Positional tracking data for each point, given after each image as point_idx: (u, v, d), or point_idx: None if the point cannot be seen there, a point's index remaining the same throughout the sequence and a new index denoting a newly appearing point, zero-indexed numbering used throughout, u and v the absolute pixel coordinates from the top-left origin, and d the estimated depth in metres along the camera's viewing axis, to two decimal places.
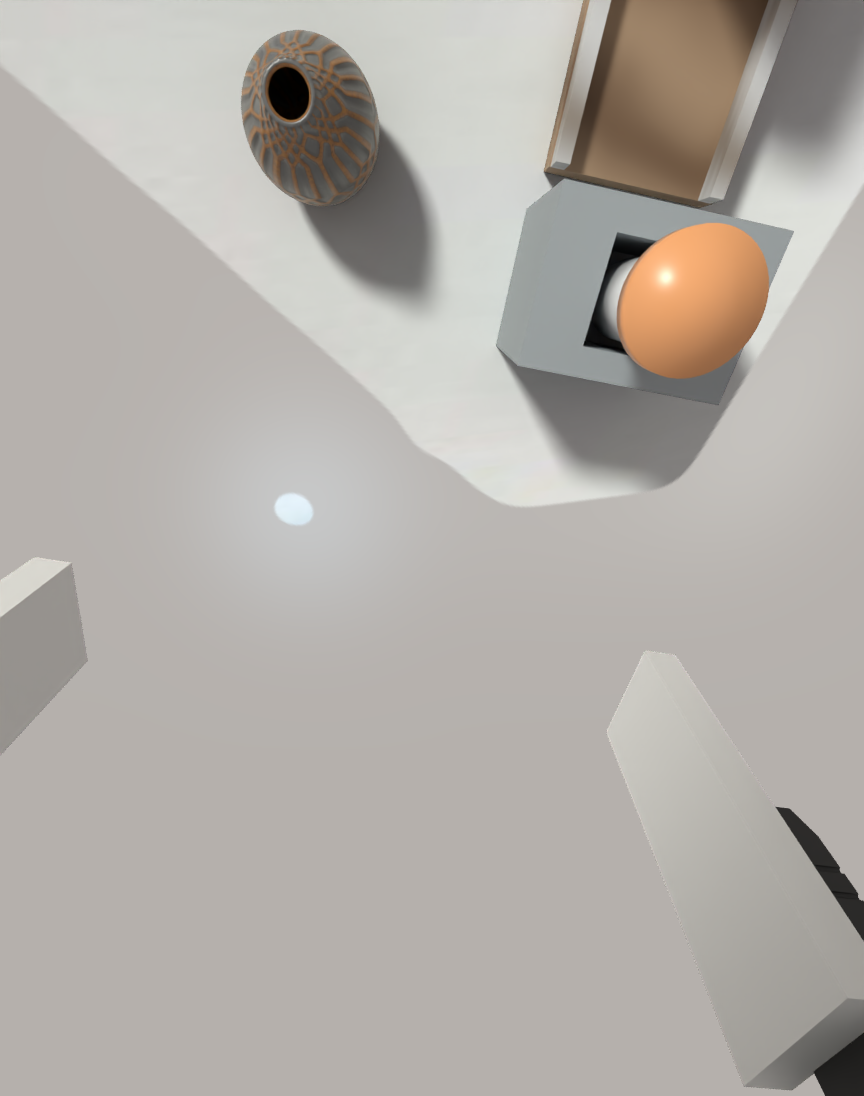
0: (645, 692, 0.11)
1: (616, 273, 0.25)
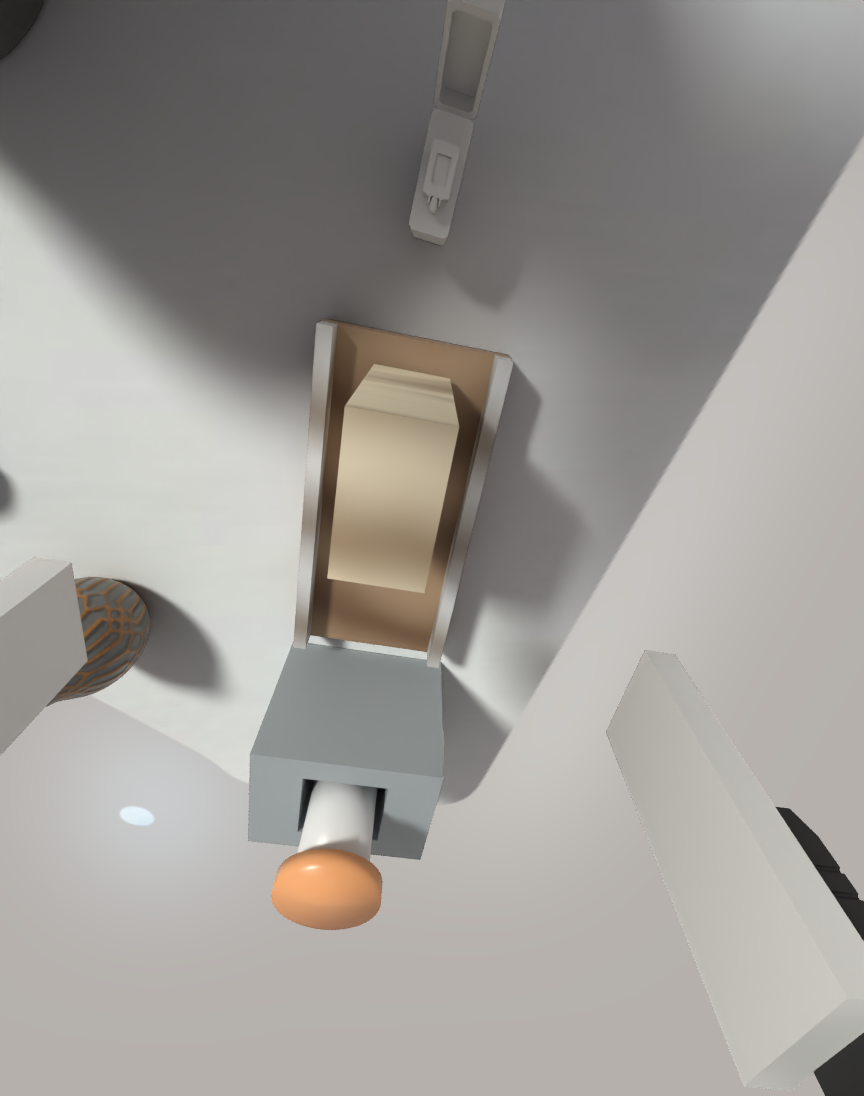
0: (645, 692, 0.11)
1: (315, 788, 0.30)
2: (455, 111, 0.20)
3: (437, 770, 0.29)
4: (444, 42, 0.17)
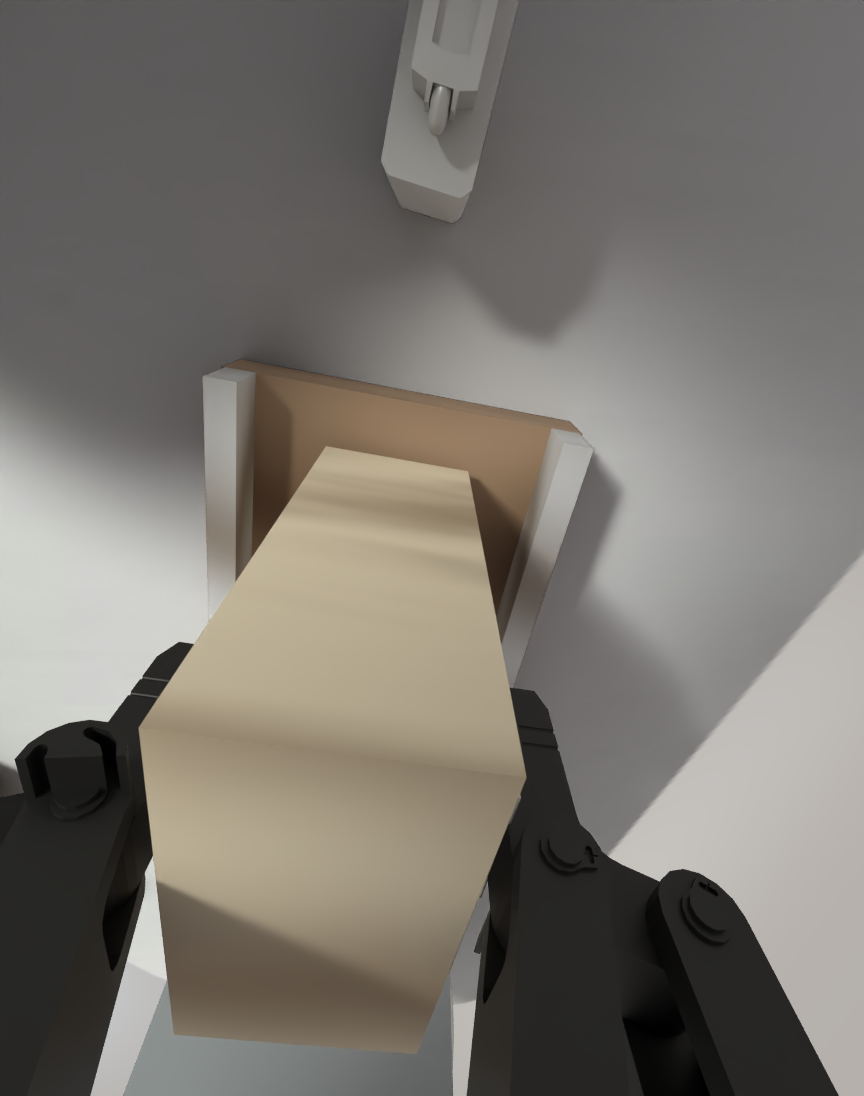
0: None
1: None
2: None
3: None
4: None
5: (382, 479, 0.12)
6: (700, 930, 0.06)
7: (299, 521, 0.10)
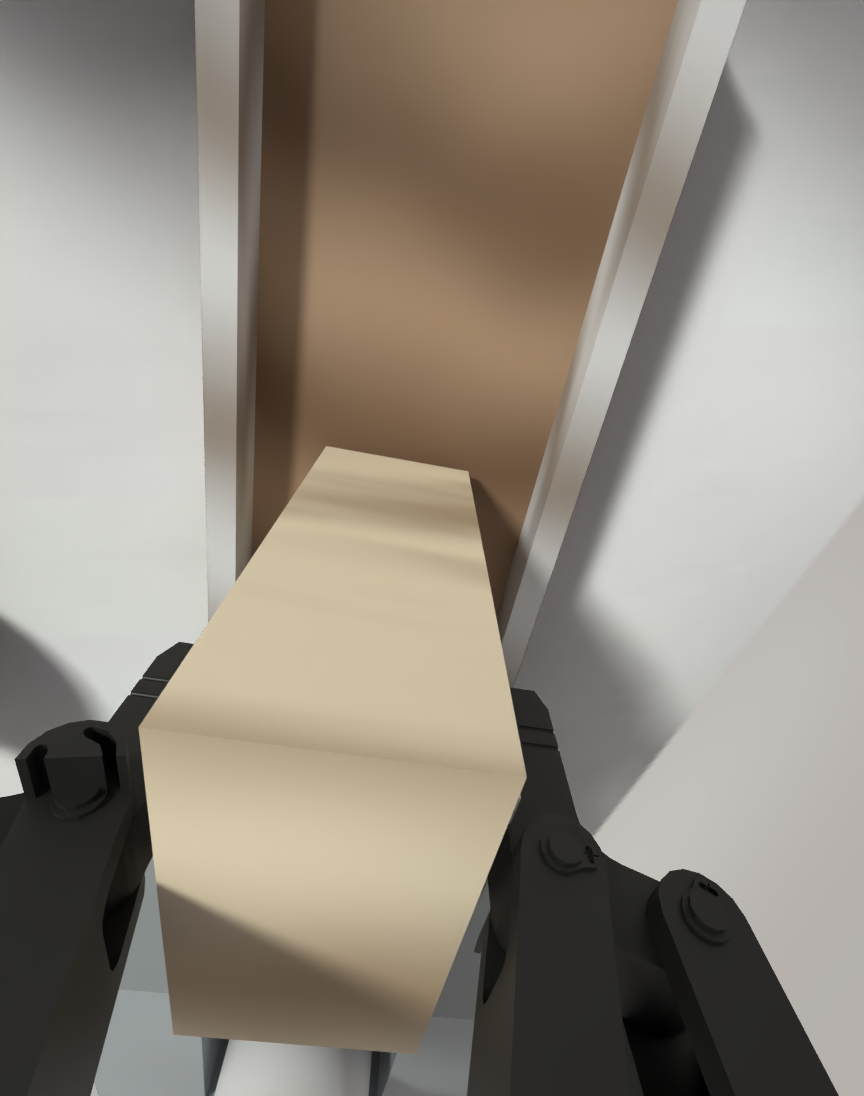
0: None
1: None
2: None
3: None
4: None
5: (382, 479, 0.12)
6: (700, 928, 0.06)
7: (299, 521, 0.10)
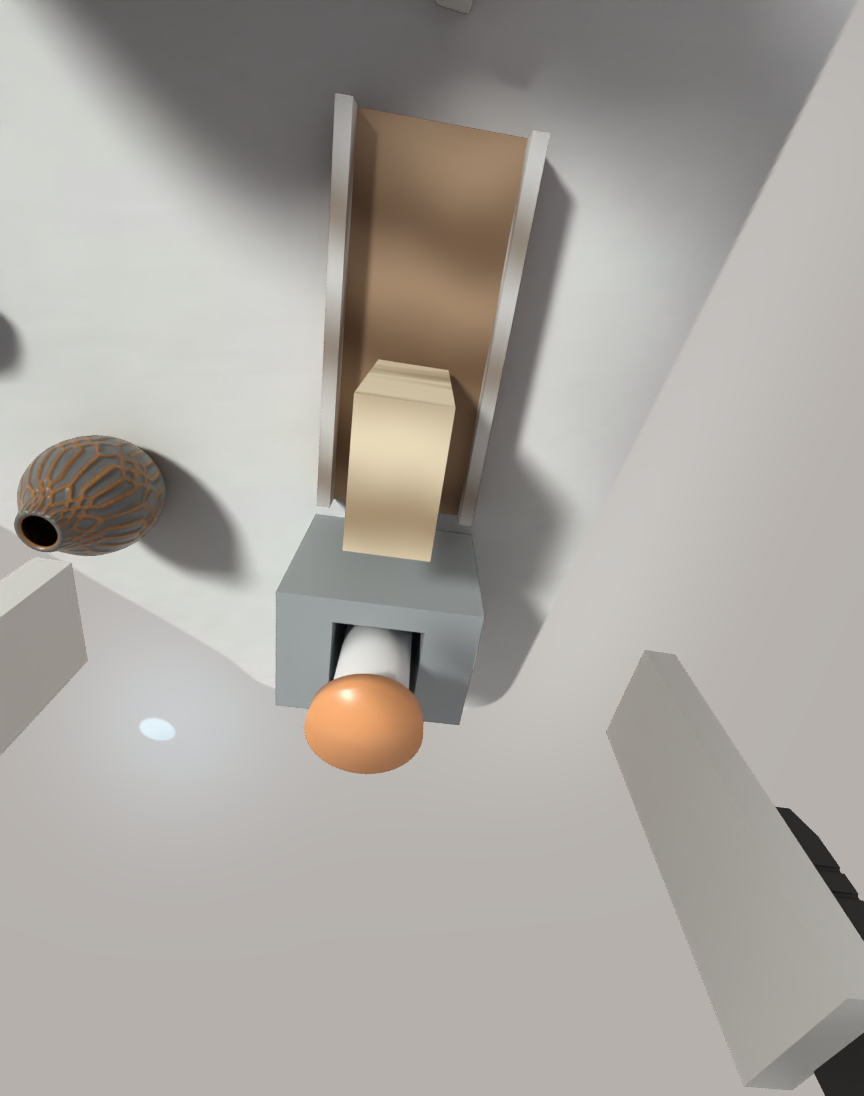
0: (645, 692, 0.12)
1: (345, 640, 0.28)
2: None
3: (477, 611, 0.27)
4: None
5: (407, 368, 0.27)
6: None
7: (377, 373, 0.24)
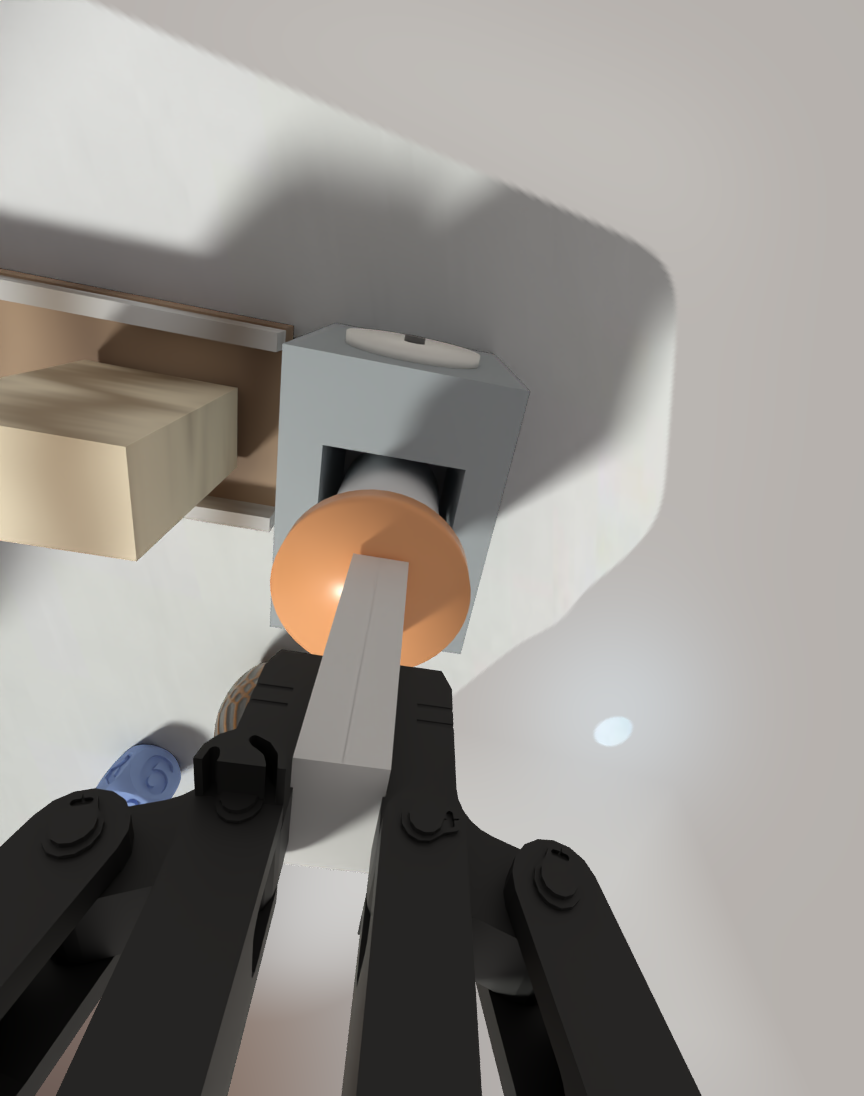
0: None
1: None
2: None
3: None
4: None
5: None
6: (549, 899, 0.06)
7: None
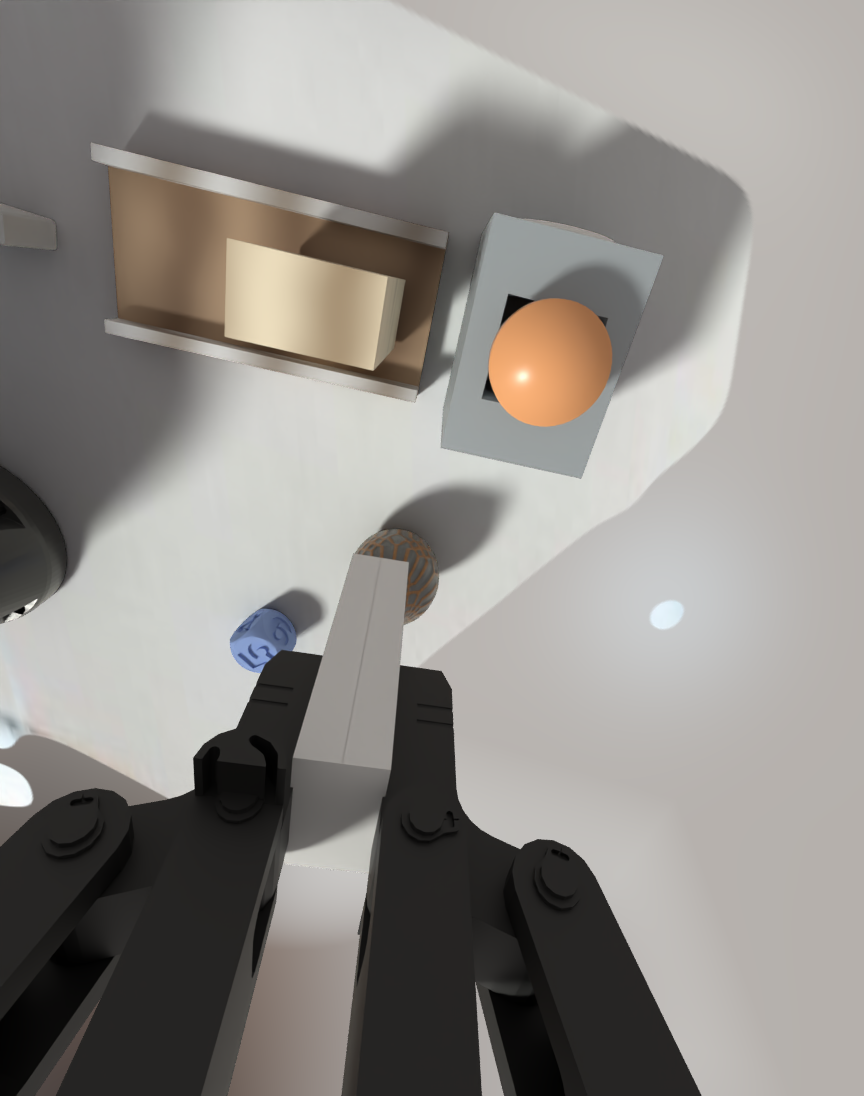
0: None
1: None
2: None
3: (491, 222, 0.23)
4: None
5: None
6: (550, 899, 0.06)
7: None
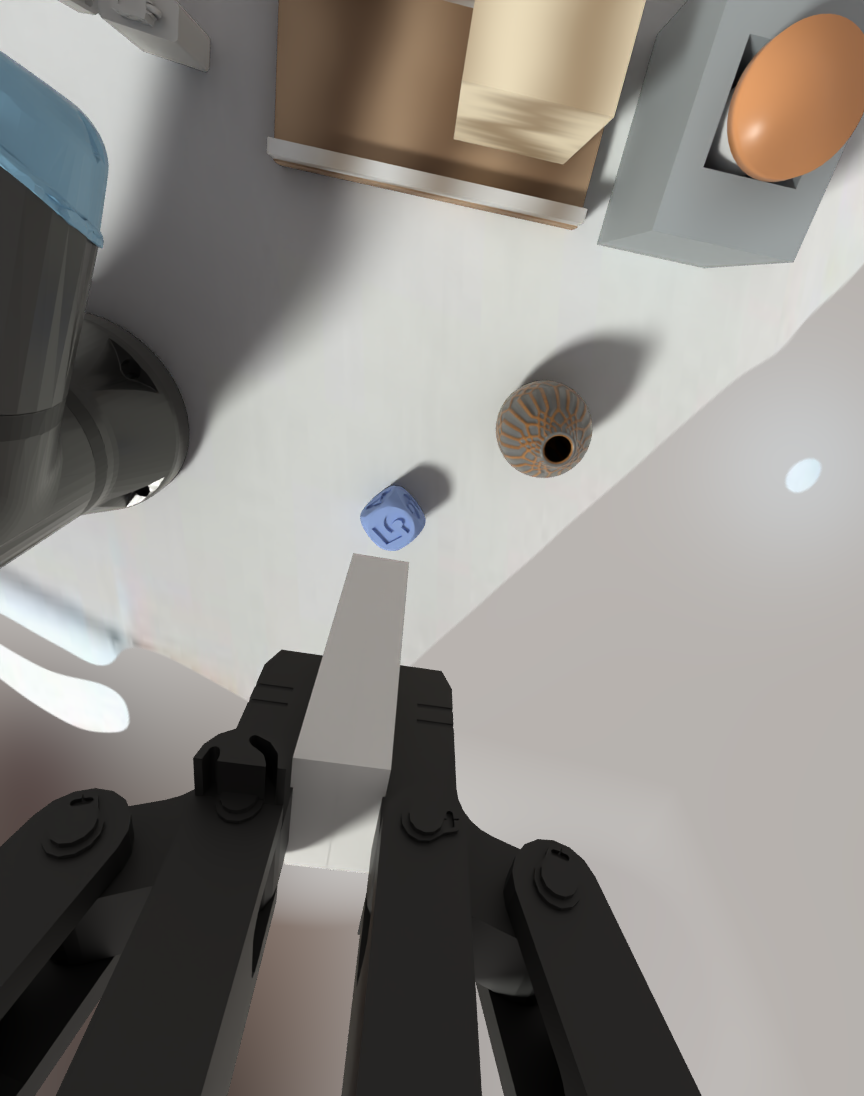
0: None
1: None
2: None
3: None
4: None
5: None
6: (550, 899, 0.06)
7: None
